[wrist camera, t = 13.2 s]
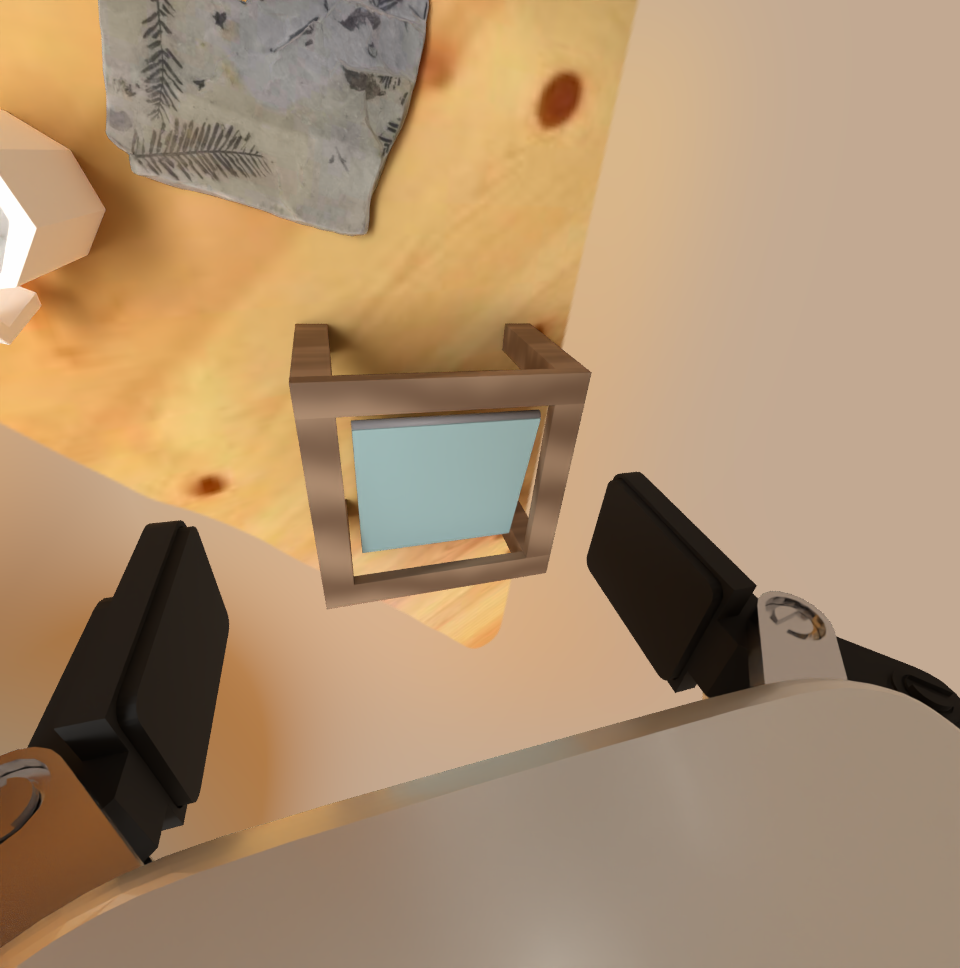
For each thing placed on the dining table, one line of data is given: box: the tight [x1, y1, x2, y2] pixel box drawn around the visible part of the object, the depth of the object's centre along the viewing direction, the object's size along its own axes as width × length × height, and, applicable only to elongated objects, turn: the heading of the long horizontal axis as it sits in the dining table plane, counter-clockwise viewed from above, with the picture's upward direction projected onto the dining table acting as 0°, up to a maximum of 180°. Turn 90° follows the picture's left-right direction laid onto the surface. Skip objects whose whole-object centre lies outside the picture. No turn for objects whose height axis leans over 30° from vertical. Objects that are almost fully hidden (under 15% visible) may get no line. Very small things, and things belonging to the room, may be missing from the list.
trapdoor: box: [351, 410, 541, 553], centre depth 38 cm, size 14×14×1 cm
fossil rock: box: [98, 0, 429, 236], centre depth 29 cm, size 18×15×2 cm
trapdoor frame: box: [289, 324, 591, 609], centre depth 42 cm, size 21×21×12 cm
